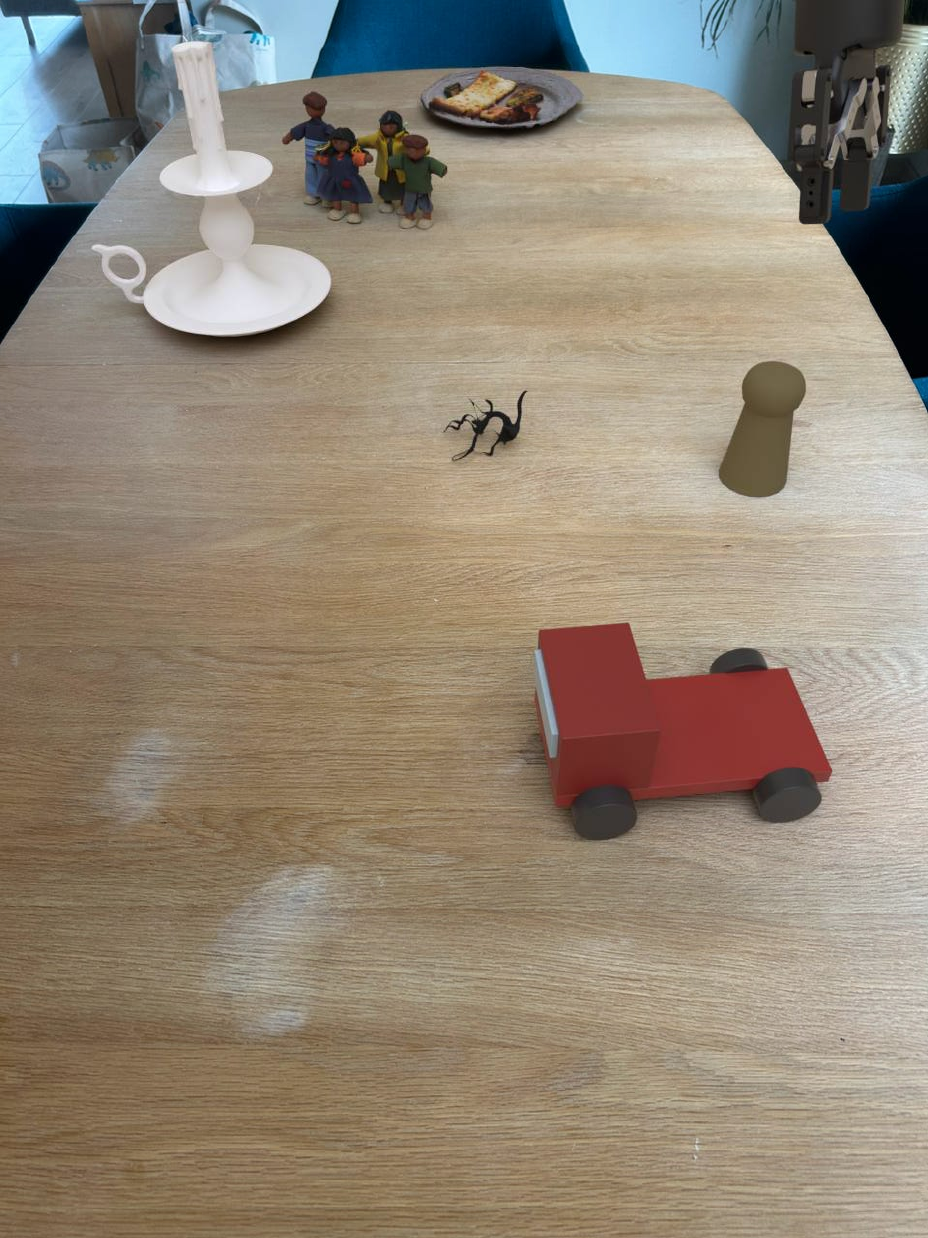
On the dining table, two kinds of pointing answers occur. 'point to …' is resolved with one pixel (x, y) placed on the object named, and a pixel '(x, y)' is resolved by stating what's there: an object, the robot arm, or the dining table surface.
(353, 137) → the doll family
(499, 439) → the creature
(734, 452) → the brown peg doll
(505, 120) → the food plate
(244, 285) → the candlestick
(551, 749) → the toy truck
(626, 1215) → the dining table surface
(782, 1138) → the dining table surface
